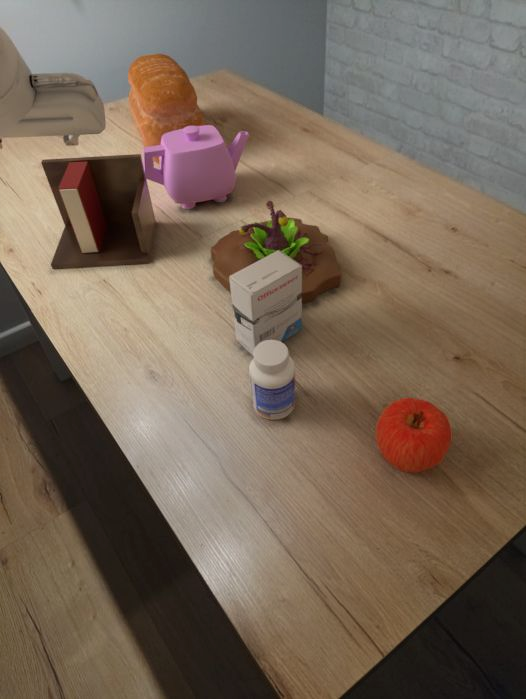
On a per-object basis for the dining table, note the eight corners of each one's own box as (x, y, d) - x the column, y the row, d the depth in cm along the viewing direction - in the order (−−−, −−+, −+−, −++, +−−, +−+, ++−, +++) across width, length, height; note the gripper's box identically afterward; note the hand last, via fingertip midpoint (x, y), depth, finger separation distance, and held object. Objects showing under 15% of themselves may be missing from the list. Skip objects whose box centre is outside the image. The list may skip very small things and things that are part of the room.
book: (81, 254, 86) (57, 189, 77) (90, 225, 92) (69, 162, 83) (99, 252, 86) (77, 188, 77) (107, 224, 92) (87, 161, 83)
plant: (239, 324, 75) (233, 263, 66) (199, 250, 87) (190, 190, 79) (361, 286, 79) (369, 224, 71) (306, 221, 92) (308, 161, 83)
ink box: (280, 312, 76) (278, 246, 68) (302, 330, 74) (304, 264, 65) (234, 340, 73) (226, 275, 64) (256, 360, 70) (251, 294, 61)
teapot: (157, 221, 93) (142, 154, 84) (145, 188, 102) (130, 123, 92) (261, 198, 97) (258, 132, 88) (241, 167, 105) (236, 104, 96)
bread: (152, 171, 106) (135, 94, 95) (130, 120, 123) (114, 50, 111) (215, 158, 108) (206, 82, 97) (185, 110, 125) (175, 40, 114)
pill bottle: (303, 409, 64) (305, 357, 57) (265, 428, 63) (262, 377, 55) (280, 380, 68) (279, 328, 60) (244, 397, 66) (239, 346, 59)
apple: (411, 412, 63) (424, 371, 57) (457, 463, 58) (476, 423, 52) (358, 440, 61) (365, 399, 55) (401, 495, 56) (414, 457, 50)
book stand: (52, 269, 85) (22, 199, 76) (67, 227, 93) (42, 159, 84) (148, 263, 85) (131, 193, 76) (156, 222, 93) (140, 153, 84)
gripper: (88, 46, 53) (115, 114, 67) (-122, 53, 51) (-49, 121, 65) (92, 106, 53) (119, 162, 66) (-119, 115, 51) (-46, 170, 65)
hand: (34, 141), depth 66 cm, fingers open, 8 cm apart
